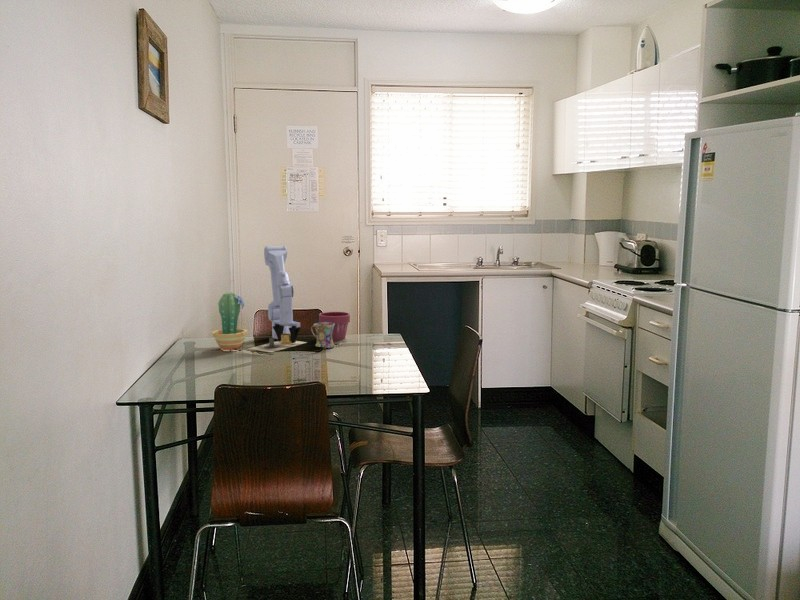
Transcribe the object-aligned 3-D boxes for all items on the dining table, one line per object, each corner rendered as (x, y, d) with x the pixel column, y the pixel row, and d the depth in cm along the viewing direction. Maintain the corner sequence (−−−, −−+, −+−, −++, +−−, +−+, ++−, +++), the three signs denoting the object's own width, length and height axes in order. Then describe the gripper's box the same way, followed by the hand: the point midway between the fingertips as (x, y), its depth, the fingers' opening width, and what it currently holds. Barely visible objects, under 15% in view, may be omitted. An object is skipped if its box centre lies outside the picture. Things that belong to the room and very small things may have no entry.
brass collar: (286, 341, 309) (286, 333, 308) (295, 342, 306) (294, 334, 305) (279, 343, 304) (278, 334, 304) (287, 344, 302) (287, 335, 301)
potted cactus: (232, 354, 289) (230, 295, 285) (204, 351, 295) (201, 294, 292) (255, 347, 303) (253, 291, 299) (228, 344, 309) (225, 290, 306)
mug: (339, 346, 302) (338, 323, 301) (326, 350, 294) (326, 326, 293) (318, 344, 308) (317, 321, 307) (305, 347, 300) (304, 324, 299)
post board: (284, 342, 314) (283, 330, 313) (307, 344, 307) (307, 333, 306) (247, 351, 294) (246, 339, 293) (271, 354, 286) (271, 342, 286)
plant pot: (356, 339, 318) (355, 312, 316) (338, 345, 306) (337, 317, 304) (332, 337, 325) (331, 310, 324) (313, 342, 313) (312, 314, 312)
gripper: (267, 311, 304) (268, 341, 305) (292, 314, 296) (293, 344, 298) (278, 309, 310) (279, 339, 311) (303, 312, 302) (304, 342, 304)
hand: (287, 341), depth 305 cm, fingers open, 7 cm apart
